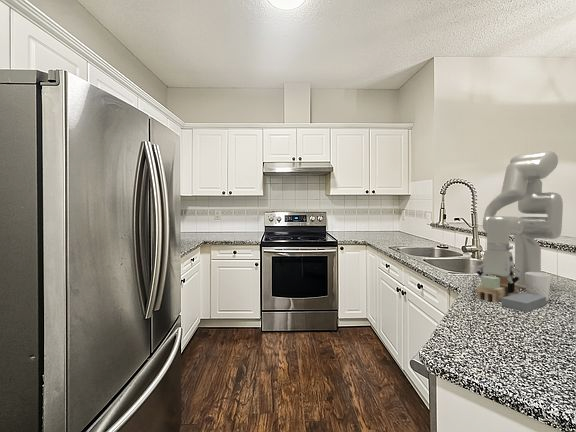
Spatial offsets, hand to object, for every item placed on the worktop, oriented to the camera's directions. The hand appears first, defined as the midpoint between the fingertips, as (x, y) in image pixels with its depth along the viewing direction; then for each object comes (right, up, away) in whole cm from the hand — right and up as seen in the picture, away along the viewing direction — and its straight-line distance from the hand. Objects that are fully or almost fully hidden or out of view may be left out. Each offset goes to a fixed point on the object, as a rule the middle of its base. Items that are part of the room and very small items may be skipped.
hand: (497, 290), depth 130 cm
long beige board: (+1, -3, 0) cm, 3 cm away
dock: (+2, -3, -11) cm, 12 cm away
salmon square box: (+5, +2, +3) cm, 7 cm away
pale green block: (-4, +2, -3) cm, 5 cm away
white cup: (+13, -3, -3) cm, 14 cm away
